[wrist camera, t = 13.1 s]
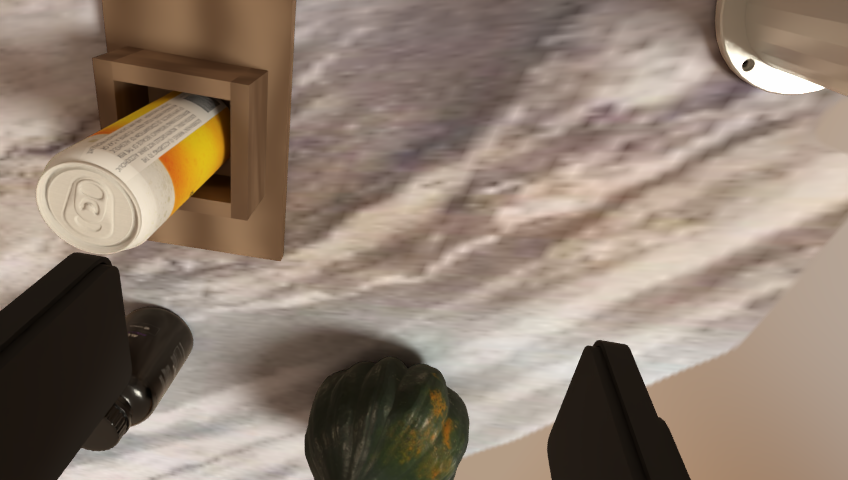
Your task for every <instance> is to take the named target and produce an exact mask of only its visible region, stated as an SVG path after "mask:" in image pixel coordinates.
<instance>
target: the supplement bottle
mask: <svg viewBox="0 0 848 480" xmlns="http://www.w3.org/2000/svg"><path fill="white" fill-rule="evenodd" d="M125 319H126V326H127V334H128V341H129V349H130V356H131V364H132V374H131V378H130V381H129V383H128V385H127V386H126V388H125V389H124V391H123V392H122V393H121V395H120V396H119V397H118V399H117V400H116V401H115V403H114V404H113V405H112V407H111V408H110V409H109V411H108V412H107V414H106V415H105V416H104V418H103V419H102V420H101V422H100V423H99V424H98V426H97V427H96V428H95V430H94V431H93V432H92V434H91V435H90V436H89V438H88V439H87V440H86V442H85V443H84V444H83V446H82V447H81V448H84V449H87V450H92V451H105V450H109V449H110V448H113V447H114V446H115V445H117V443H118V442H119V441H120V439H121V438H122V436H123V435H124V434H125V433H126V432H127V431H128V429H129V428H130V427H132V426H135V425H137V424H140V423H141V422H143V421H145V420H146V419H147V418H148V417H149V416H150V415H151V414H152V413H153V411H154V410H155V408H156V407H157V405H158V404H159V402H160V400H161V399H162V397H163V396H164V394H165V393H166V391H167V389H168V388H169V386H170V385H171V383H172V382H173V380H174V378H175V377H176V375H177V374H178V372H179V370H180V369H181V367H182V366H183V364H184V363H185V361H186V359H187V358H188V356H189V354H190V352H191V350H192V347H193V337H192V333H191V331H190V329H189V327H188V326H187V324H186V323H185V322H184V321H183V320H182V319H181V318H180V317H178V316H177V315H175V314H174V313H172V312H170V311H167V310H165V309H161V308H156V307H144V308H140V309H137V310H134V311H132V312H131V313H129V314H128V315H127V316H126V317H125Z"/></svg>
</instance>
